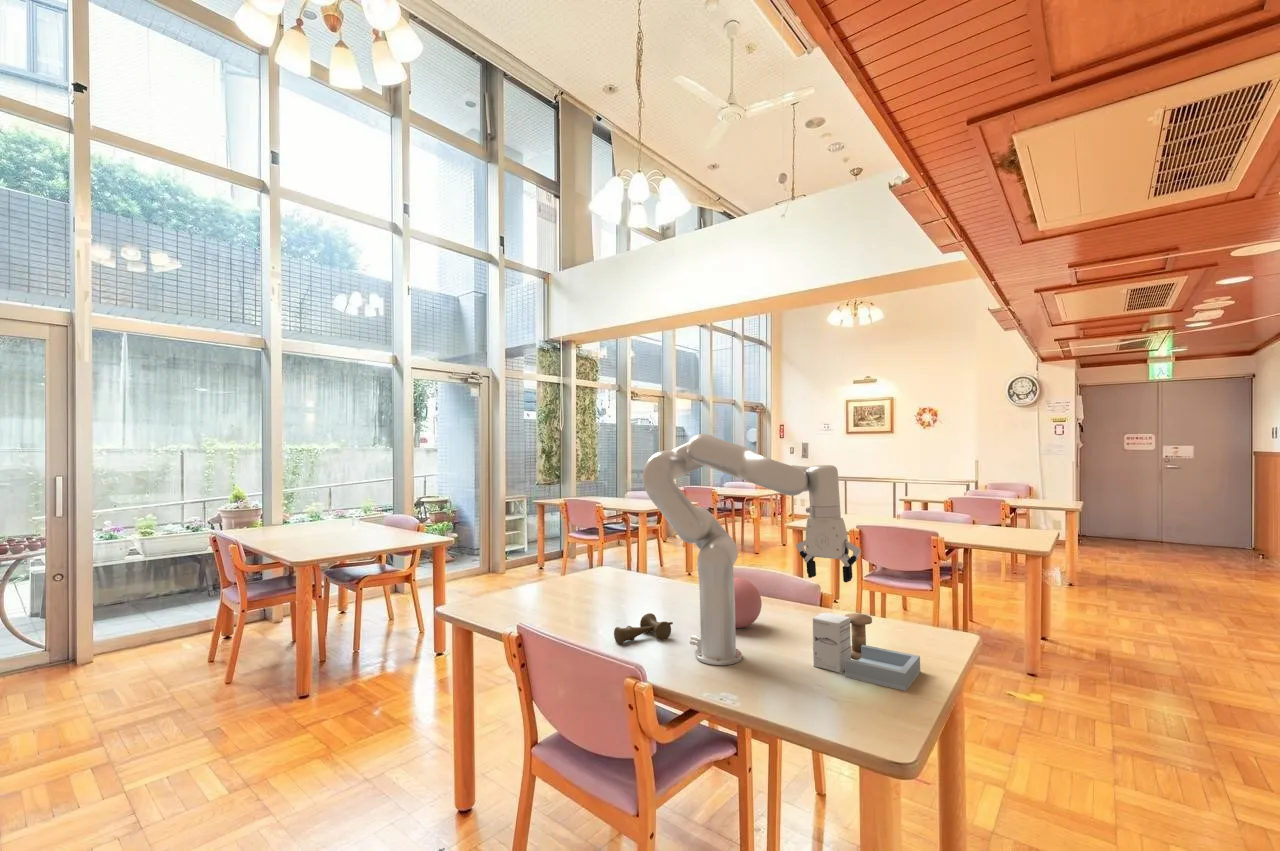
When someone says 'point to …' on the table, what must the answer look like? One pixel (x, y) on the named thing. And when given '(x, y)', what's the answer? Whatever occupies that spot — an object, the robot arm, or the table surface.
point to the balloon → (746, 603)
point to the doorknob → (858, 632)
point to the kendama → (643, 629)
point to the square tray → (884, 667)
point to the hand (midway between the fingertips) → (829, 579)
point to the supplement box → (831, 641)
